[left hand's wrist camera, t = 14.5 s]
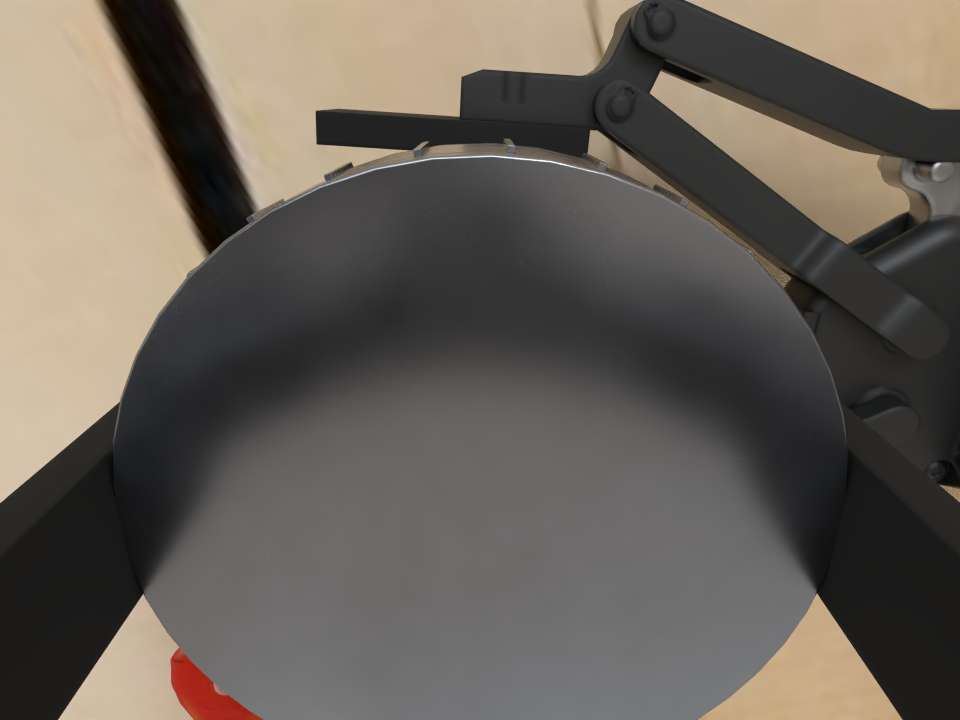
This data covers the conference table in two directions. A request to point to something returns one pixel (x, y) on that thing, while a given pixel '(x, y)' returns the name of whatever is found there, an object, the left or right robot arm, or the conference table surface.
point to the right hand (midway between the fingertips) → (332, 325)
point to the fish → (203, 693)
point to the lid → (480, 449)
